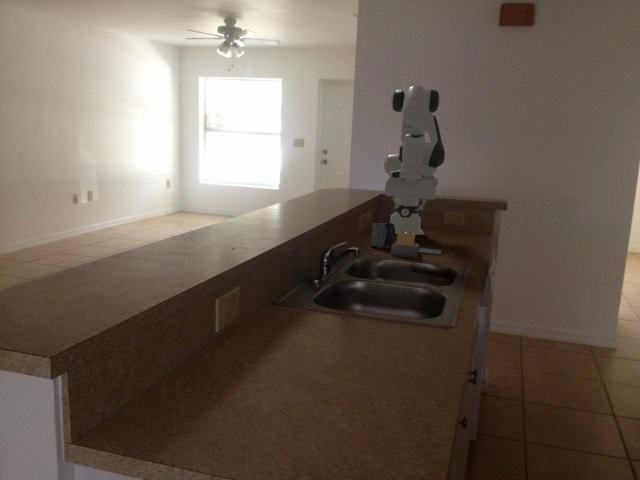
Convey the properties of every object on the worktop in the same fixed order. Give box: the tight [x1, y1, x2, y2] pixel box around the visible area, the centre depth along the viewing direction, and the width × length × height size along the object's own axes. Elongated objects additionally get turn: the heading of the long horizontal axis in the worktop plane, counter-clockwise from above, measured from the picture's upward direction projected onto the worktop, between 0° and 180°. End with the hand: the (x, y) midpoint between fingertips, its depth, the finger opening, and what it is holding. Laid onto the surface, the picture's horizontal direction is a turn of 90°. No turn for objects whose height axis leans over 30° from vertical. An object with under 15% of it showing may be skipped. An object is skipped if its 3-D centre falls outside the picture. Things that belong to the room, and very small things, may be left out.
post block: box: [390, 232, 420, 259], centre depth 231 cm, size 10×10×9 cm
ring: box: [396, 231, 416, 247], centre depth 231 cm, size 6×6×5 cm
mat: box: [418, 247, 442, 256], centre depth 239 cm, size 9×9×1 cm
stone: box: [370, 222, 397, 250], centre depth 244 cm, size 12×10×10 cm
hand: (408, 209), depth 228 cm, fingers open, 8 cm apart
